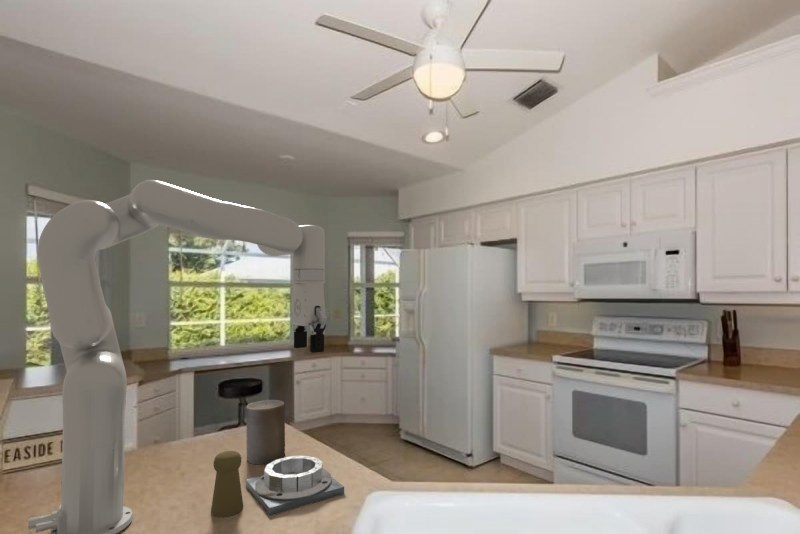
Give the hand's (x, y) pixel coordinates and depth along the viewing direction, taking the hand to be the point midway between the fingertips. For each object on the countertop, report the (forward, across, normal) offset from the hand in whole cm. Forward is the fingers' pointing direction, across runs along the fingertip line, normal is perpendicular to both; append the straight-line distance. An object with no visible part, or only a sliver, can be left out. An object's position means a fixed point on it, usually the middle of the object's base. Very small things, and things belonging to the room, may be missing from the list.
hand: (308, 349), depth 107 cm
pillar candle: (+29, -17, -4) cm, 34 cm away
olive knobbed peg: (+29, +6, -20) cm, 36 cm away
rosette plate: (+29, +5, -6) cm, 30 cm away
